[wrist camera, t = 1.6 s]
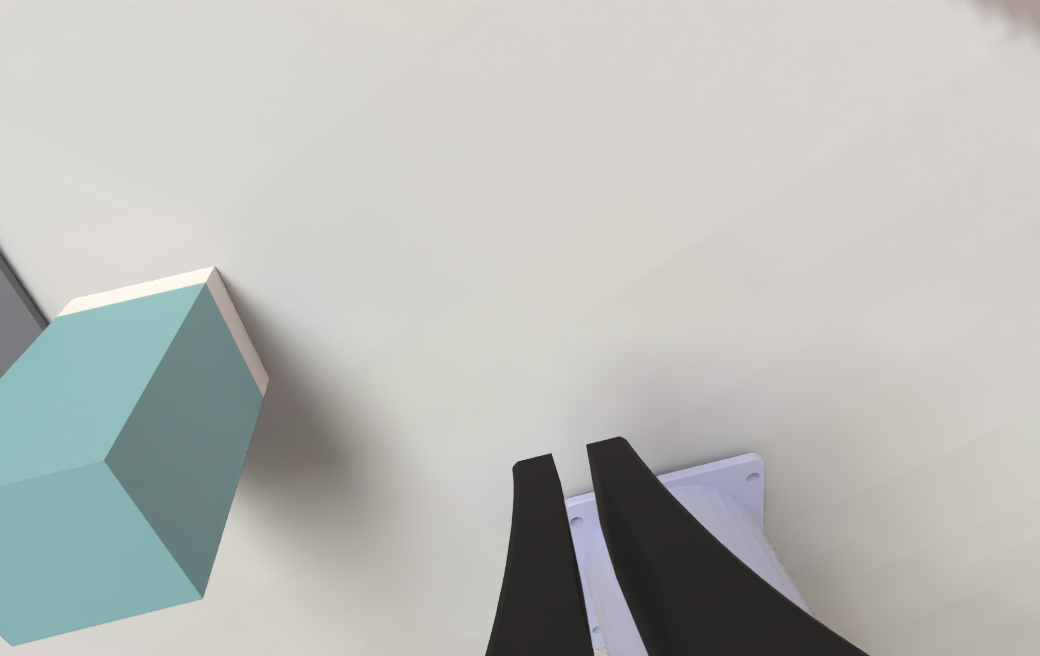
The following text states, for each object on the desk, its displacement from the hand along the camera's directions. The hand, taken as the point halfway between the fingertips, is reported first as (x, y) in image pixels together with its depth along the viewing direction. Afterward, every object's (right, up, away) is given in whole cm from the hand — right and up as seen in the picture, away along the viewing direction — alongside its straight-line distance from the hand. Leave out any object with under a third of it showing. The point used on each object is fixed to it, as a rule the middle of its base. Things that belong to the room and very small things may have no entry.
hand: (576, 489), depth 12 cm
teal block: (-11, +2, +8) cm, 14 cm away
